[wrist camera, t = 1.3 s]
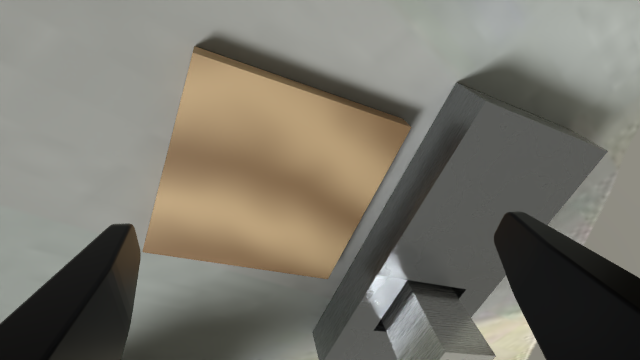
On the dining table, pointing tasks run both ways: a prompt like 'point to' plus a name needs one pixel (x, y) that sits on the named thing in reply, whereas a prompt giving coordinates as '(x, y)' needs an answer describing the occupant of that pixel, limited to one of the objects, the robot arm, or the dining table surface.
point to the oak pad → (267, 170)
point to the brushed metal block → (433, 325)
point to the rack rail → (453, 215)
